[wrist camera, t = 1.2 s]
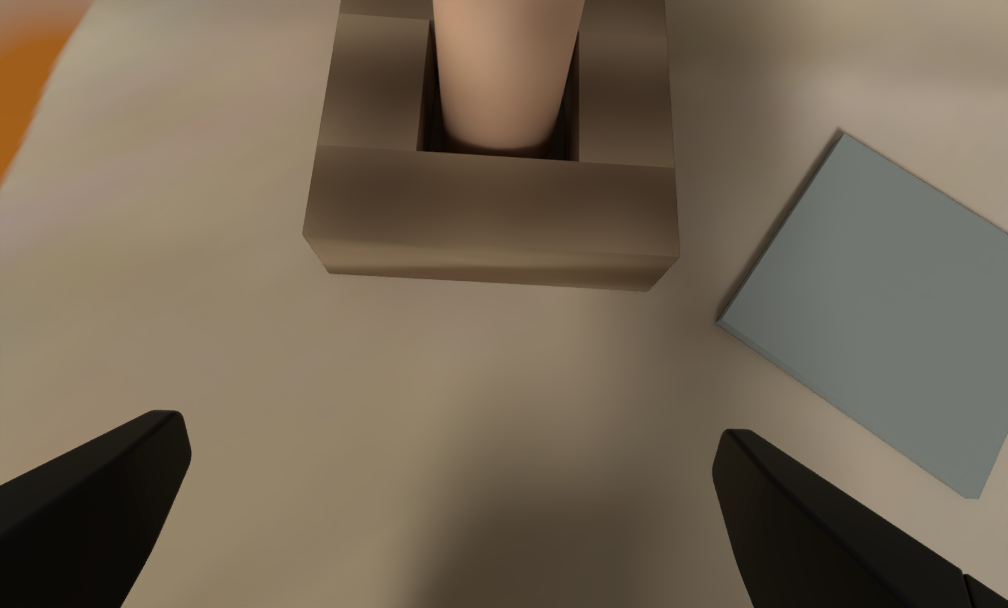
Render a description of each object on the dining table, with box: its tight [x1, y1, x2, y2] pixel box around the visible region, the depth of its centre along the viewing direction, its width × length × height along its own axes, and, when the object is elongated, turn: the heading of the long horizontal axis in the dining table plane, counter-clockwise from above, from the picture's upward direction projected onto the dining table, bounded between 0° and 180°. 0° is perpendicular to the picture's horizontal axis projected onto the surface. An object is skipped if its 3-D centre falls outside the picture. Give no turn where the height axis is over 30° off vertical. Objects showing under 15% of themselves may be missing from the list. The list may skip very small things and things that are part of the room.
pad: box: [716, 133, 1008, 499], centre depth 25 cm, size 12×12×1 cm
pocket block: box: [302, 0, 680, 291], centre depth 24 cm, size 14×14×4 cm
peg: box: [433, 0, 585, 160], centre depth 22 cm, size 5×5×10 cm
